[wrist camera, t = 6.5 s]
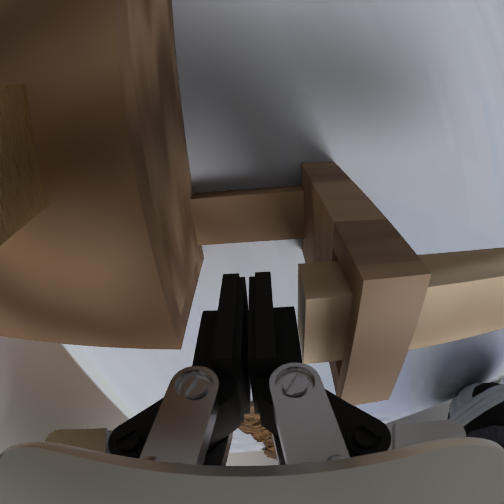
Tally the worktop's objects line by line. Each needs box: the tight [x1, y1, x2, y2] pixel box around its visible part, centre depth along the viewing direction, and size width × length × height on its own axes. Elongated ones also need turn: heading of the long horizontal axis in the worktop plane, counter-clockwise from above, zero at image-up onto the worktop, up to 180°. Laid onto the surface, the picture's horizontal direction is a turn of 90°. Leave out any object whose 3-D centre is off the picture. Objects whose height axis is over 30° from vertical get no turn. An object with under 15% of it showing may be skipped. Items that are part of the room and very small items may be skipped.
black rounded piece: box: [448, 382, 504, 449], centre depth 22 cm, size 11×11×20 cm
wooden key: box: [298, 248, 504, 364], centre depth 11 cm, size 3×14×2 cm, turn 94°
